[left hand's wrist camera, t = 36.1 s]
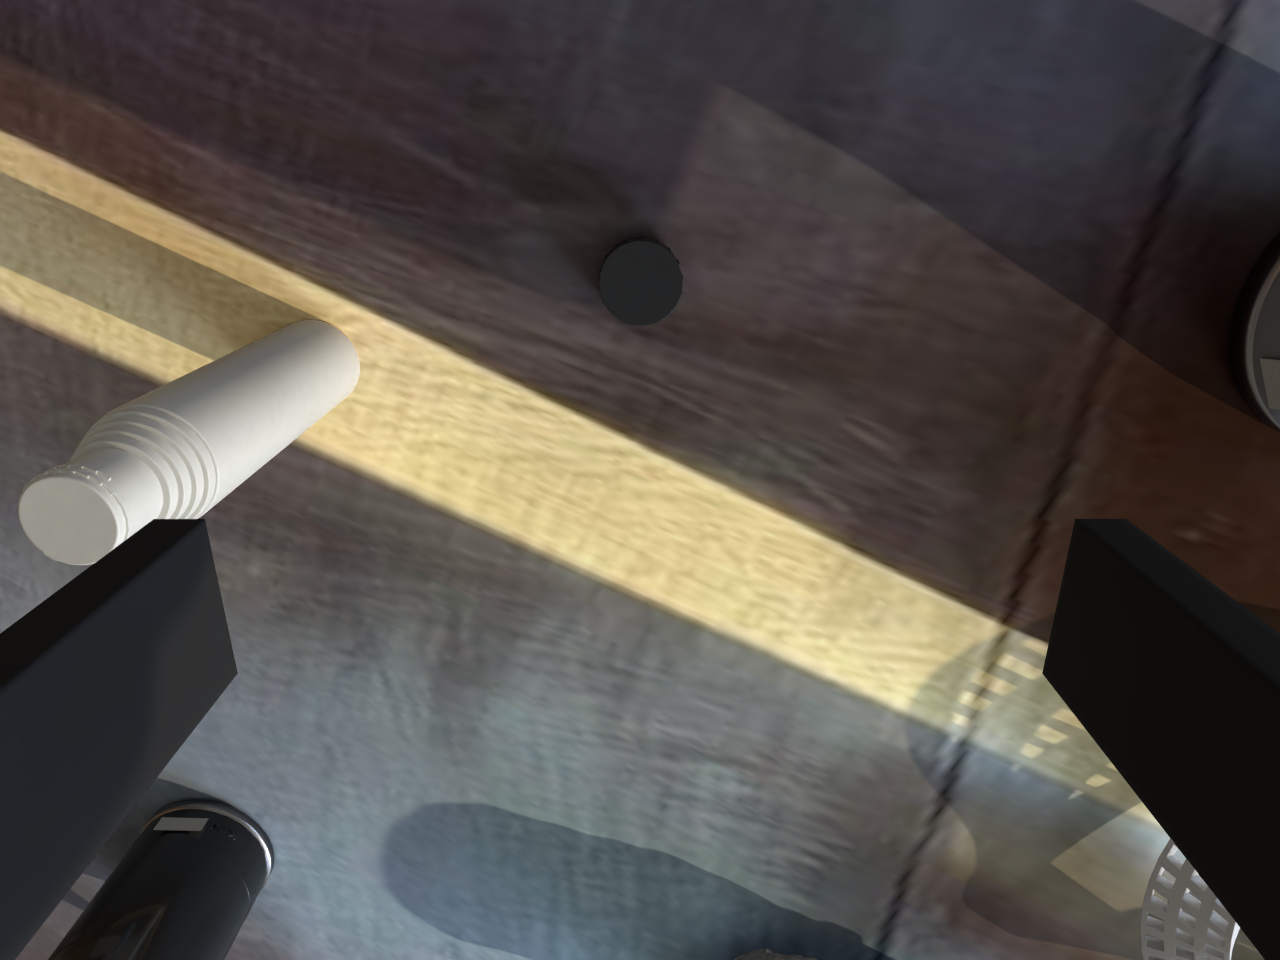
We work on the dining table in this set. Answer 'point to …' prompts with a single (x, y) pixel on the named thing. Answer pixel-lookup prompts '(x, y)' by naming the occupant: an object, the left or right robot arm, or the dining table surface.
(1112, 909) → the dining table surface
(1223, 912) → the decorative object
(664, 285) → the cap
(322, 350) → the bottle
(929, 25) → the dining table surface
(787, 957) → the decorative stone
